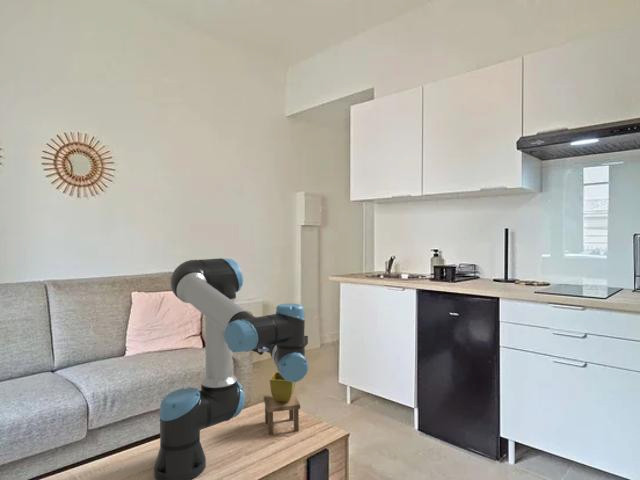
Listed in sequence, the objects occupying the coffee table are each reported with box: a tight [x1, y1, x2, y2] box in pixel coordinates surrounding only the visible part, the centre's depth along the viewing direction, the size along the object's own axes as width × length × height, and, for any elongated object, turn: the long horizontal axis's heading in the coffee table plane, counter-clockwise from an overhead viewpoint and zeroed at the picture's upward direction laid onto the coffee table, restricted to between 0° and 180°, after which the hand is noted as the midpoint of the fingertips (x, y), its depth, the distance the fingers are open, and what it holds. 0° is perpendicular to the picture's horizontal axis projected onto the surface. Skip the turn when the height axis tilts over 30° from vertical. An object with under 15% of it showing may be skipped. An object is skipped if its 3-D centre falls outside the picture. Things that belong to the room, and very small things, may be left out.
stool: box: [263, 392, 301, 436], centre depth 155 cm, size 12×12×10 cm
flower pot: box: [269, 371, 296, 402], centre depth 155 cm, size 9×9×9 cm
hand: (273, 336), depth 139 cm, fingers open, 13 cm apart
